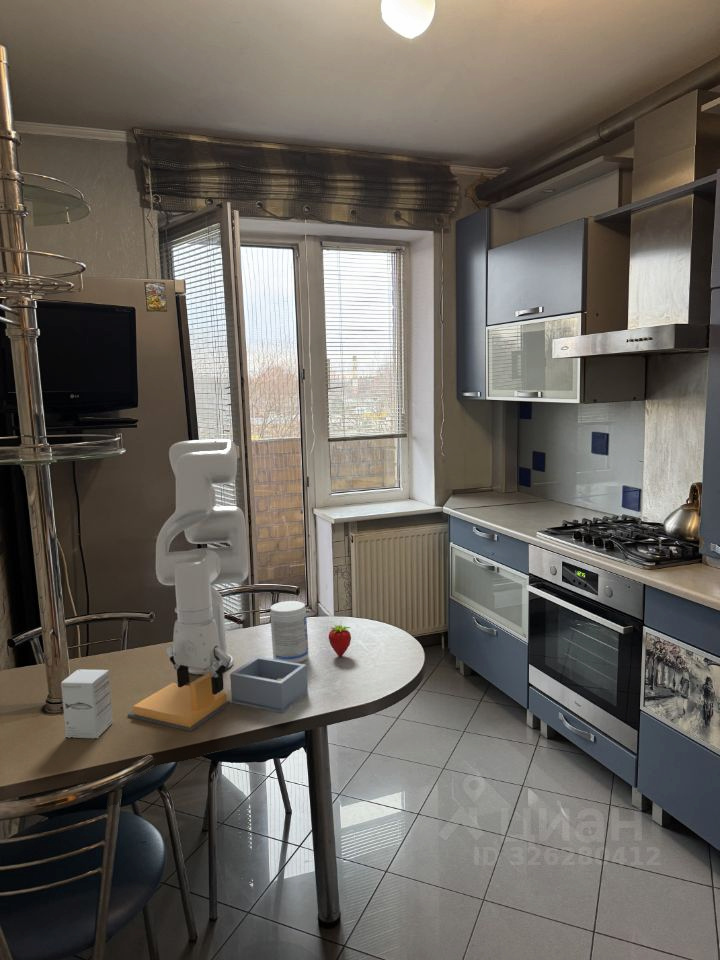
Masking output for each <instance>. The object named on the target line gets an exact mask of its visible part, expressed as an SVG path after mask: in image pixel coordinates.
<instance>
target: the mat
mask: <svg viewBox="0 0 720 960" xmlns="http://www.w3.org/2000/svg"><path fill="white" fill-rule="evenodd" d="M230 704H232V701H231V700H228V699H227V702H226V703H224V704H223V705H221V706H220V707H218V708H217V709H216V710H214V711H213V712H211V713H210V714H208V715H207V716H205V717H204V718H203V719H201V720H200V721H198V722H197V723H195V724H194V725H192V726H191V727H186V726H182V725H178V724H174V723H169V722H165V721H161V720H157V719H152V718H148V717H144V716H140V715H135V714H134V710H132V711H131V712H129V713H127V717H129V718H132V717H133V718H134V719H137V720H140V721H141V720H142V721H144V720H145V721H146V722H149V723H152V724H158V725H161V726H166V727H170V728H174V729H179V730H182V731H186V732H193V731H194V730H195V729H196V728H198V727H199V726H201V725H202V724H203V723H205V722H206V721H208V720H209V719H211V718H212V717H213V716H215V715H216V714H218V713H219V712H221V711H222V710H224V709H225V708H226V707H228V706H230ZM133 718H132V719H133ZM145 721H144V722H145Z"/></svg>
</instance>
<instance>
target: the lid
mask: <svg viewBox="0 0 720 960" xmlns="http://www.w3.org/2000/svg"><path fill="white" fill-rule="evenodd" d="M211 677H213V675H212V674H209V673H207V674H205V675H201V676H200V677H198V678H196V679H195V680H194V681H192V682H189V685H187V684H186V685H184V686H183V687H181V688H180V687H178V682H177V683H176V682H171V683H170V684H168V685H166V686H165V687H163V688H161V689H160V690H158V691H156V692H154V693H152V694H150V696H149V695H148V696H147V697H146V698H144V699H142V700H141V701H139V702H138V703H136V704H134V705H133V706H132V707H133V709H132V710H133V711H134V714H135V715H140V716H144V717H148V718H152V719H157V720H161V721H165V722H169V723H174V724H178V725H182V726H186V727H191V726H192V725H194V724H195V723H197V722H198V721H200V720H201V719H203V718H204V717H205V716H207V715H208V714H210V713H211V712H213V711H214V710H216V709H217V708H218V707H220V706H221V705H223V704H224V703H226V702H227V700H228V698H227V693H226V692H222V691H220V692H219V693H217V694H216V695H214V694H213V693H212V683H211Z"/></svg>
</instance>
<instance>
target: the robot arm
mask: <svg viewBox="0 0 720 960" xmlns="http://www.w3.org/2000/svg"><path fill="white" fill-rule="evenodd" d="M168 457H169V462H170V465H171V469H172V471H173V474H174V477H175V511H174V513H172V514H171V516H169V518H168V519H167V520H166V521H165V522H164V524H163V526H162V527H161V529H160V530H159V533H158V535H157V538H156V543H155V574H156V575H155V576H156V578H157V580H158V582H159V583H160V584H162V585H164V586H175V598H176V599H175V601H176V607H175V608H174V612H175V613H176V614H177V619H176V620H175V622H174V627H173V637H172V638H173V639H172V641H173V642H172V645H171V646H169V647H167V648H166V652H167V655H168V657H169V661H170V662H171V663H172V665H173V669H174V670H175V671H176V678H177V684H178V687H180V688H181V687H183V686H184V685H187V684H190V674H192V675H199V676H200V675H201V676H203V675H205V674H207V673H209V674H212V675H213V677H211V683H212V693H213V694H214V695H216V694H217V693H219V692H222V691H223V690H224V675H223V674H225V673H226V671H227V670H228V669H229V668H230V667H231V666H232V665H233V664H234V658H233V656H232V655H230V654H228V653H227V639H226V637H227V636H226V626H225V623H226V622H225V609H224V600H223V596H222V595H221V594H220V592H219V591H218V590H217V589H216V588H215V587H214V586H215V585H226V584H235V583H241V582H244V581H245V580H246V579H247V578H248V575H249V554H248V553H249V552H248V539H247V537H248V536H247V525H246V519H245V518H246V517H245V514H244V512H243V510H242V509H241V508H240V507H238V506H235V505H226V506H224V505H223V506H217V504H216V501H217V500H216V499H217V498H216V489H215V487H214V485H216V486H217V485H229V484H232V483H234V481H235V480H236V477H237V474H238V473H237V472H238V450H237V447H236V444H235V442H234V441H233V440H231V439H230V438H229V439H227V438H218V439H193V440H183V441H178V442H175V443H174V444H172V445H171V446H170V448H169V451H168ZM183 531H184V537H185V539H186V541H187V542H189V543H191V544H195V545H196V544H198V545H199V544H200V545H203V544H204V545H205V544H218V543H228V544H229V545H230V546H222V547H221V546H220V547H219V546H217V547H203V548H202V547H201V548H194V549H191V550H182V551H171V552H169V551H170V547H171V546H170V545H171V543H172V541H173V540H174V538H176V536H178V535H179V534H180V533H181V532H183Z"/></svg>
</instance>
